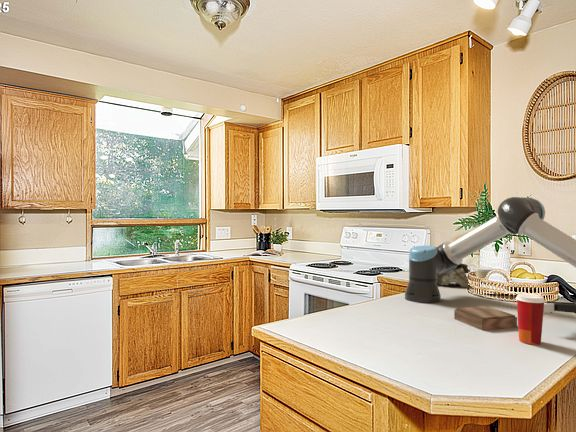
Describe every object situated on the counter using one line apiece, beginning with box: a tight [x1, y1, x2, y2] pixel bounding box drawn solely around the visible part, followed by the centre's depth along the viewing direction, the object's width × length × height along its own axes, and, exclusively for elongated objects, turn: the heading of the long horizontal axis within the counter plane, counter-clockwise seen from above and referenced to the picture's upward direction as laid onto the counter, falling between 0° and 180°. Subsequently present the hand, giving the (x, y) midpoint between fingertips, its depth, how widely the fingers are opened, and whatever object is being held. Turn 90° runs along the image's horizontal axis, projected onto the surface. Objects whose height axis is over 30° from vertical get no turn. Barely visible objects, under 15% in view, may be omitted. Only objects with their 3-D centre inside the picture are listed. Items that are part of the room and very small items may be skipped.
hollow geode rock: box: [437, 262, 471, 288], centre depth 210 cm, size 28×13×15 cm
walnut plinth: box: [453, 305, 518, 331], centre depth 140 cm, size 14×14×4 cm
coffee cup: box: [475, 266, 496, 278], centre depth 189 cm, size 9×9×12 cm
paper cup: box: [514, 293, 546, 346], centre depth 120 cm, size 8×8×14 cm
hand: (555, 314), depth 122 cm, fingers open, 13 cm apart
